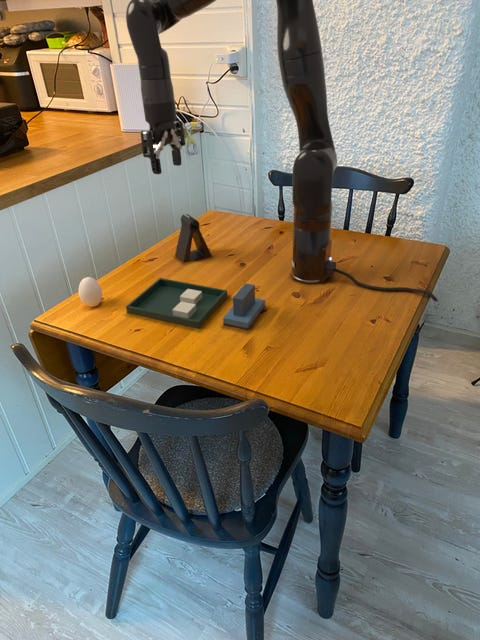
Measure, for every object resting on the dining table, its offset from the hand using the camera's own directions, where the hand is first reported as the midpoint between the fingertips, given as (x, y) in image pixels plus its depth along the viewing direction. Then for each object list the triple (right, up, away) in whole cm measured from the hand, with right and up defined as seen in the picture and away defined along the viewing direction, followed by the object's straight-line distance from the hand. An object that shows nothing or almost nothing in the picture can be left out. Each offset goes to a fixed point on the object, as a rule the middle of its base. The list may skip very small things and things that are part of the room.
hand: (167, 169), depth 119 cm
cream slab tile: (+6, -37, -10) cm, 38 cm away
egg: (-18, -35, -4) cm, 39 cm away
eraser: (+20, -38, -11) cm, 44 cm away
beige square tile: (+7, -34, -5) cm, 34 cm away
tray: (+4, -35, -6) cm, 36 cm away
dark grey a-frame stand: (+5, -20, +17) cm, 27 cm away
